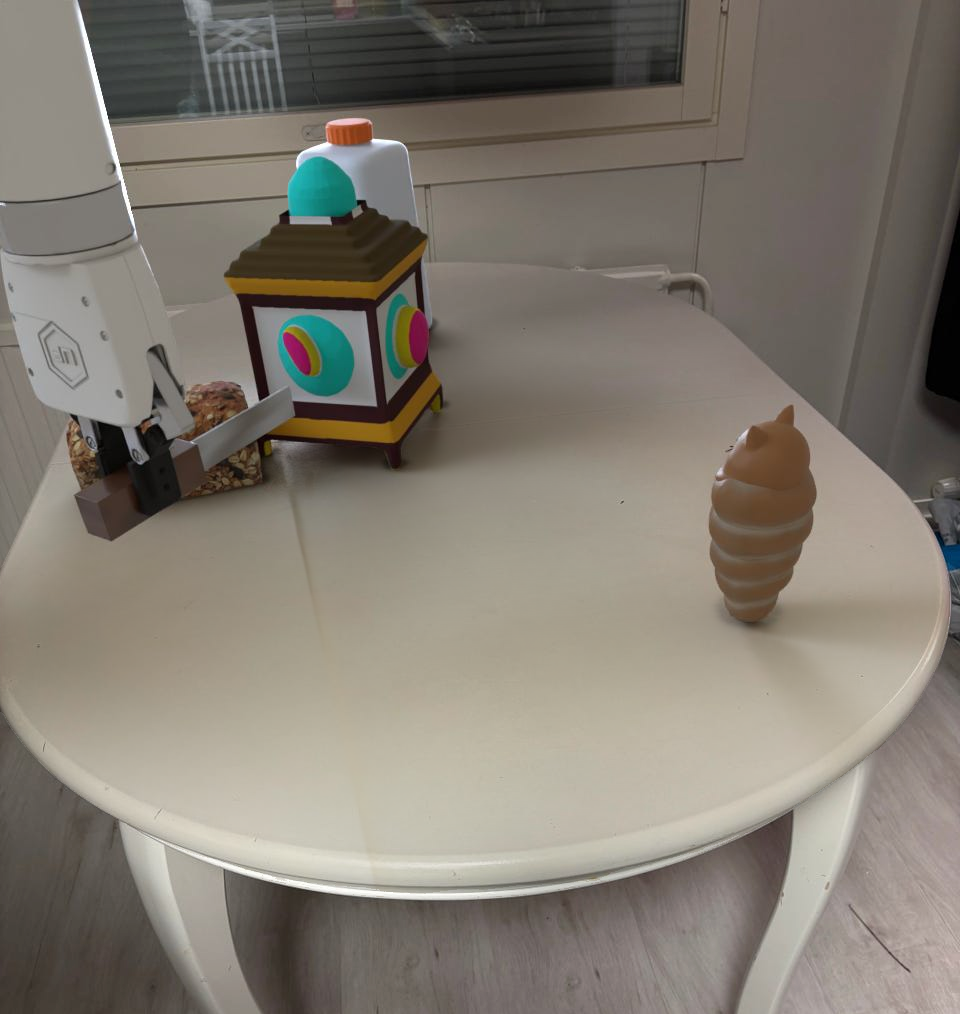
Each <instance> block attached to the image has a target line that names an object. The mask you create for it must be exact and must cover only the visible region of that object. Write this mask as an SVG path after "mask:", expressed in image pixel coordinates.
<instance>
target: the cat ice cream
mask: <svg viewBox="0 0 960 1014" xmlns="http://www.w3.org/2000/svg"><path fill="white" fill-rule="evenodd" d="M794 425H795V408H794V404H789V405H787V406H786V407H784V408H783V409H782V410H781V411H780V412H779V413H778V414H777V415H776V417H775V418H774V419H773V420H769V421H763V422H760V423H757V424H752V425H751V426H750V427H749V428H747V429H745V431H744V432H743V433H741V435H740V436H739V437H738V438H736V440H735V441H736V442H735V443H734V445H729V447H730V448H729V449H727V450H725V451H724V453H727V452H729V454H728V456H727V457H726V460H725V463H724V465H723V466H721V467H720V468H719V469H718V470H717V471H716V473H715V475H714V482H713V484H712V486H711V494H710V499H711V507H710V510H709V515H708V531H709V535H710V537H711V541H710V545H709V558H710V559H709V560H710V561H711V563H712V565H713V567H714V578H715V580H716V584H717V586H718V588H719V590H720V591H721V592H722V594H723V601H724V605H725V609H726V610H727V612H728V613H729V615H730V616H731V617H732V618H734V619H735V620H738V621H741V622H747V623H754V622H759V621H761V620H764V619H765V618H767V617H768V616H769V615H770V614H771V613H772V611H773V609H774V608H775V606H776V604H777V602H778V599H779V596H780V592H781V591H783V590H784V589H785V588H786V587H787V586H788V584H789V583H790V582H791V581H792V578H793V575H794V570H795V566H796V564H797V563H798V561H799V560H800V557H801V554H802V551H803V546H804V542H805V541H806V540H807V539H808V538H809V536H810V535H811V533H812V529H813V525H814V510H813V508H814V505H815V504H816V500H817V496H818V493H817V492H818V491H817V490H818V489H817V485H816V482H815V477H814V475H813V473H812V471H811V469H810V465H811V464H810V463H811V451H810V450H811V449H810V446H809V443H808V440H807V439H806V437H805V436H804V434H803V433H802V432H801V431H800V430H799V429H797V428H796V427H795V426H794Z"/></svg>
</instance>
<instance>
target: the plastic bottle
mask: <svg viewBox="0 0 960 1014" xmlns="http://www.w3.org/2000/svg"><path fill="white" fill-rule="evenodd" d="M324 127H325V128H324V129H325V135H326V142H324V143H321V144H318V145H315V146H312V147H310V148H308V149H305V150H303V151H301V152H300V153H299V154H298V155H297V157H296V161H295V164H296V170H297V169H298V167H299V166H300V165H301V164H302V163H303V162H305V161H306V160H307V159H309V158H311V157H316V156H321V157H324V158H327V159H329V160H331V161H333V162H334V163H336V164H337V165H338V166H339V167H340V168H341V169H342V170H343V171H344V172H345V173H346V174H347V175H348V176H349V177H350V178H351V180H352V182H353V185H354V188H355V194H356V200H366V203H367V206H368V207H369V208H375V209H377V211H378V213H379V214H380V215H386V216H388V218H389V219H401V220H407V221H409V223H410V224H411V226H416V227H418V228H420V225H419V219H418V218H419V217H418V212H417V206H416V205H417V204H416V199H415V191H414V184H413V178H412V172H411V165H410V159H409V158H410V157H409V151H408V148H407V147H406V145H404V144H403V143H402V142H400V141H397V140H391V139H379V138H374V129H373V122H371V120H370V119H368V118H362V117H350V118H349V117H348V118H339V119H335V120H331V121H329V122H328V121H327V123H326V125H325V126H324ZM421 271H422V283H423V295H424V307H425V316H426V319H427V321H428V328H429V329H430V328H431V327H432V324H433V314H432V313H433V312H432V307H431V306H432V305H431V300H430V294H429V293H430V292H429V287H428V279H427V273H426V272H427V271H426V266H425V259H424V255H423V256H422V260H421Z"/></svg>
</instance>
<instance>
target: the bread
mask: <svg viewBox="0 0 960 1014" xmlns="http://www.w3.org/2000/svg"><path fill="white" fill-rule="evenodd" d="M184 402H185V404H186V406H187V408H188V409H189V411H190V413H191V415H192V417H193V418H194V421H195V427H194V428H193V429H191V430H189V431H187V432H185V433H183V434H182V435H180V436H177V437H176V439H180V440H184V441H187V442H190V441H192V440H194V439H195V438H197V437H199V436H201V435H202V434H204V433H206V432H208V431H209V430H211V429H213V428H214V427H216V426H218V425H220V424H221V423H223V422H225V421H227V420H228V419H230V418H232V417H233V416H235V415H237V414H239V413H240V412H242V411H244V410H246V409H247V408H249V404H248V401H247V399H246V395H245V391H244V390H243V388H242V386H241V385H239V384H238V383H237V382H234V381H224V380H218V381H217V380H216V381H212V382H211V381H210V382H208V383H204V384H203V383H202V384H201V383H200V384H198V383H197V384H193V385H191V386H186V398H185V401H184ZM150 426H151V423H150V420H149V421H147V422H145V423H143V424H141V425H140V427H141V430H142V433H143V435H144V433H145V431H146V430H147V428H148V427H150ZM65 436H66V443H67V447H68V455H69V459H70V464H71V468H72V471H73V473H74V475H75V478H76V481H77V483H78V486H79V489H80V491H81V490H83V489H85V488H86V487H88V486H90V485H92V484H93V483H95V482H97V481H99V480H101V479H102V477H101V473H100V470H99V467H98V464H97V461H96V458H95V455H94V454H95V453H97V452H98V450H96V451H92V450H90V449H89V448H88V446H87V445H86V443H85V441H84V437H83V434H82V430H81V428H80V427H79V425H78V424H77V423H76V422H75V421H74V420H73V419H72V418H71V419H70V421H69V422H68V430H66V433H65ZM262 473H263V472H262V467H261V456H260V455H259V449H258V444H257V440H255V441H253V442H251V443H250V444H248V445H246V446H245V447H243V448H242V449H240V450H238V451H237V452H235V453H233V454H232V455H230V456H229V457H227V458H225V459H224V460H222V461H220V462H219V463H217V464H216V465H214V466H212V467H211V468H209V469H207V470H206V471H205V474H206V477H207V482H206V483H204V484H203V485H201V486H200V487H198V488H196V489H195V490H193V491H192V492H190V493H188V494H187V495H185V496H184V497H182V498H180V500H184V499H188V498H195V497H199V496H204V495H208V494H210V495H211V494H214V493H219V492H220V493H221V492H225V491H228V490H234V489H239V488H243V487H248V486H253V485H256V484H260V483H263V482H264V481H263V474H262Z"/></svg>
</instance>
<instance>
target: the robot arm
mask: <svg viewBox="0 0 960 1014" xmlns="http://www.w3.org/2000/svg"><path fill="white" fill-rule="evenodd" d="M113 138H114V137H113V135H112V130H111V127H110V123H109V119H108V115H107V110H106V107H105V102H104V98H103V95H102V90H101V86H100V82H99V79H98V75H97V71H96V67H95V63H94V59H93V55H92V51H91V47H90V43H89V39H88V35H87V31H86V28H85V22H84V20H83V15H82V11H81V7H80V3H79V0H0V247H1V248H0V265H1V266H0V267H1V273H2V274H1V275H2V280H3V285H4V291H5V296H6V299H7V304H8V305H7V306H8V308H9V313H10V316H11V320H12V324H13V328H14V331H15V335H16V340H17V342H18V346H19V350H20V353H21V356H22V360H23V363H24V366H25V369H26V372H27V376H28V378H29V382H30V385H31V388H32V390H33V392H34V395H35V396H36V398H37V399H38V400H39V401H40V402H41V403H42V404H44V405H45V406H47V407H49V408H52V409H53V410H58V411H61V412H64V413H68V414H69V416H70V418H71V420H72V419H73V420H74V421H75V422H76V423H77V424H78V425H79V427H80V428H81V430H82V434H83V437H84V441H85V443H86V445H87V446H88V448H89V449H90V450H92V451H96V450H98V452H97V453H95V454H94V455H95V458H96V461H97V464H98V467H99V470H100V473H101V477H102V478H104V477H106V476H108V475H109V474H111V473H113V472H115V471H117V470H118V469H120V468H122V467H124V466H125V465H128V469H129V473H130V476H131V479H132V482H133V485H134V489H135V492H136V495H137V499H138V502H139V505H140V509H141V512H142V514H144V515H147V516H152V517H153V516H155V515H157V514H158V513H160V512H162V511H163V510H165V509H167V508H168V507H170V506H172V505H174V504H175V503H177V502H179V500H181V499H180V498H181V490H180V486H179V482H178V479H177V475H176V471H175V467H174V464H173V460H172V456H171V452H170V449H171V448H173V447H174V445H175V443H174V440H175V438H176V437H177V436H180V435H182V434H183V433H185V432H187V431H189V430H191V429H193V428H194V427H195V421H194V418H193V417H192V415H191V413H190V411H189V409H188V408H187V406H186V404H185V402H184V401H185V398H186V387H187V384H186V379H185V378H186V377H185V373H184V368H183V364H182V359H181V355H180V352H179V348H178V344H177V341H176V337H175V334H174V331H173V327H172V323H171V320H170V317H169V314H168V312H167V308H166V306H165V305H166V304H165V303H164V299H163V297H162V294H161V291H160V289H159V285H158V283H157V280H156V278H155V275H154V273H153V271H152V268H151V265H150V263H149V261H148V258H147V255H146V253H145V251H144V248H143V246H142V244H141V243H139V242H138V239H139V238H138V234H137V233H138V232H137V230H136V226H135V221H134V217H133V214H132V211H131V206H130V202H129V199H128V198H129V197H128V195H127V190H126V186H125V183H124V179H123V174H122V170H121V166H120V163H119V162H120V161H119V158H118V154H117V150H116V147H115V142H114V139H113ZM149 420H150V423H151V426H150V427H148V428H147V430H146V431H145V433H144V435H143V433H142V430H141V427H140V425H141V424H143V423H145V422H147V421H149Z"/></svg>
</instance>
